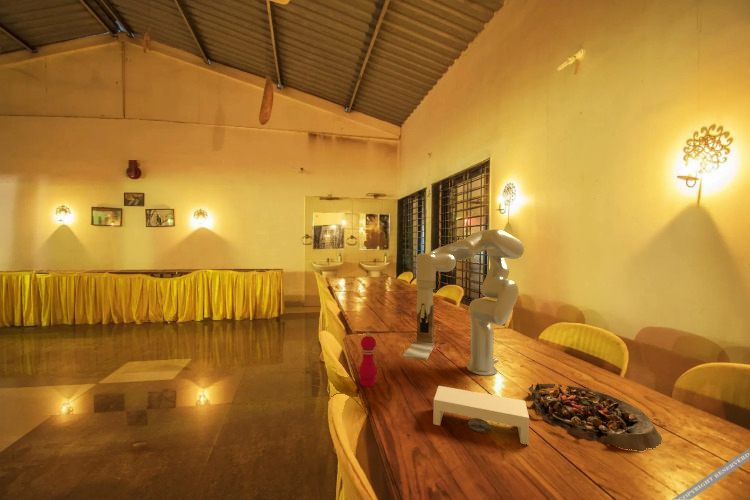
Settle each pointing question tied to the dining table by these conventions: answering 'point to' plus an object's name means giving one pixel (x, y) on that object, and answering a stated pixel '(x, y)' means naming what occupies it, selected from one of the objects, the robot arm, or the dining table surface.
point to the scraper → (422, 340)
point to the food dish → (595, 416)
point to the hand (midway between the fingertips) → (425, 330)
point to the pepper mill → (368, 361)
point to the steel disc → (478, 425)
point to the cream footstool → (482, 408)
